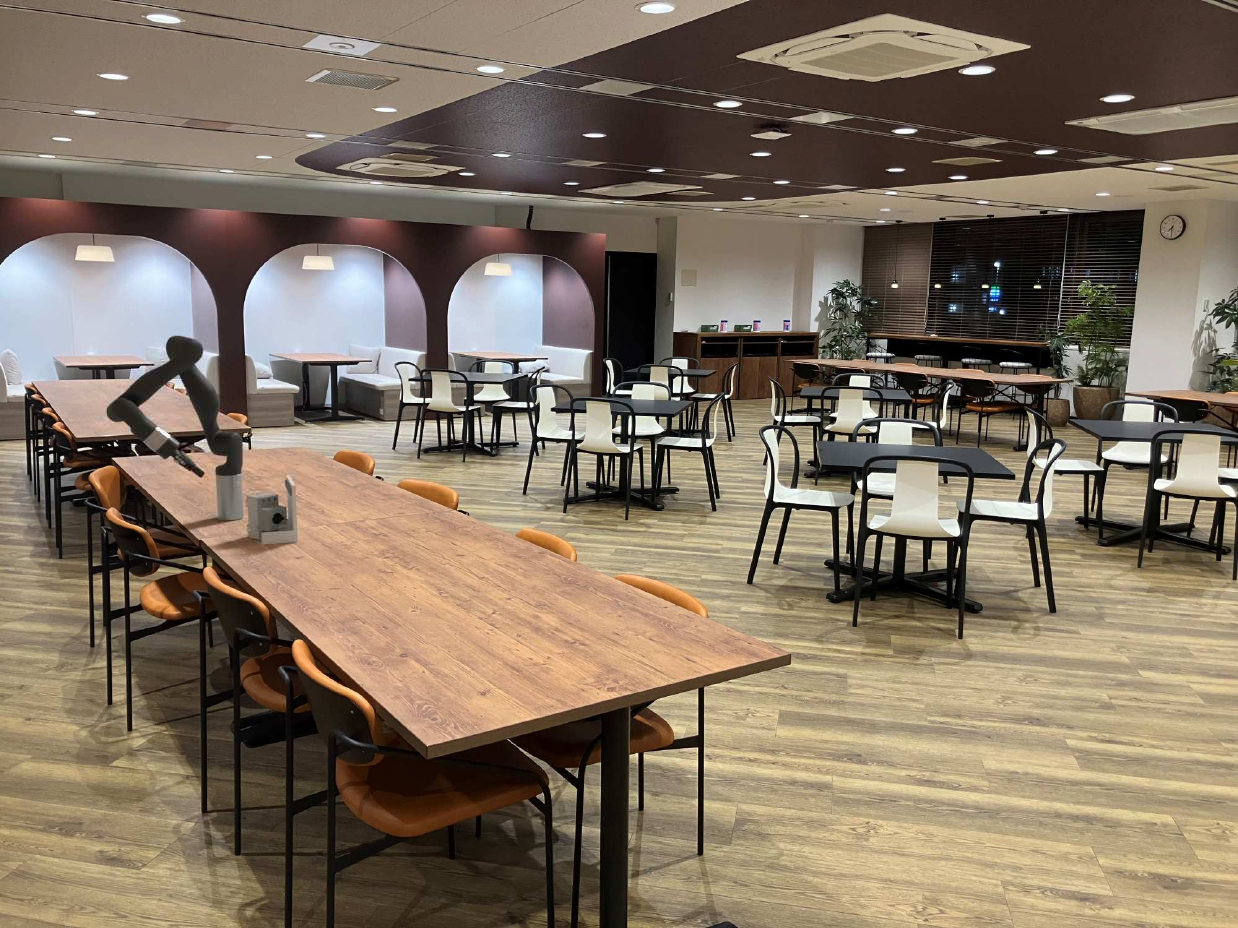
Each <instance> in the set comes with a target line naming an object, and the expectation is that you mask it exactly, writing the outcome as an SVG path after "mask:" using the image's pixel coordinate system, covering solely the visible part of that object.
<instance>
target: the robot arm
mask: <svg viewBox="0 0 1238 928" xmlns="http://www.w3.org/2000/svg"><path fill="white" fill-rule="evenodd" d="M165 352H166V355H167V357H168V359H169V360H168V361H167V362H165V363H163V364H162V365H159V366H157V367H155V368H152V369H150V370H149V371H147V372H145V373H143V375H142V374H141V375H140V377H139V378H137V379H136V380H135V381H134V382H132V383H131V385H130V386H129V387H128V388H126V390H125V391H124V392H123V393H122V394H121V395H119V396H118V397H117V398H116V399H114V400H113V401H112V402H111V403H109V405H108V406H107V408H106V416H107V417H108V419H109V420H110V421H112V422H114V423H122V422H123V423H125V425H127V426H128V427H129V428H130V432H131V433H132V434H133V435H134V436H135V437H136V438H137V439H139V440H140V441H141V442H142V443H144V444H145V445H146V446H147V447H148V448H149V449H150V450H151V451H153V452H154V453H155V454H156V455H158V456H159V457H160V458H161V459H163V460H167V459H169V457H172V458H173V461H174V463H176V464H178V465H179V466H181V467H182V468H184V469H185V470H187V472H192V473H193V474H195V476H197V477H198V478H200V479H201V478H203V477H204V475H206V474H205V471H204V470H202V469H201V468H199V466H198V465H197V464H196V462H194V461H193V460H192V458H191V457H189V456H188V455H187V454H186V452H184V451H183V450H181V451H180V450H179V449H178V448H179V447H180V445H181V442H179V441H178V440H177V439H176V438H175V437H173V436H172V435H171V434H169V433H168V432H167V431H166V430H164V429H163V428H161V427H160V426H158V425H157V424H156V423H155V422H153V421H152V420H150V419H149V418H148V417H147V416H146V414H144V412H143V411H142V410H141V409H140V408H139V407H140V406H141V405H143V404H144V403H146V402H147V401H148V400H149V399H151V398H152V397H153V396H154V395H155V394H156V393H157V392H158V391H159V390H160V389H162V387H164V386H165V385H166V384H167V383H169V382H170V381H172V380H173V379H174V378H176V377H178V376H179V378H180V380H181V382H182V384H183V387H184V388H185V391H186V393H187V395H188V398H189V401H190V402H191V404H192V406H193V407H192V408H193V409H194V410H195V413H196V415H197V418H198V420H199V422H200V424H201V425H200V426H201V428H202V430H203V433H204V436H205V439H206V442H207V445H208V447H209V450H210V452H211V453H212V454H213V455H215V456H219V457H226V460H225V463H223V464H219V465H217V466H216V467H215V470H214V471H215V486H216V487H215V489H216V490H215V491H216V508H217V509H216V510H217V519H218V520H219V521H236V520H241V519H243V518H244V517H245V516H244V515H245V513H244V494H243V493H244V492H243V477H242V476H243V475H242V471H243V470H242V468H243V464H244V463H243V462H244V459H243V458H244V455H243V454H244V442H243V438H242V436H241V434H240V433H238V432H234V431H222V430H221V428H220V427H219V424H218V420H217V419H218V416H219V412H220V409H221V401H220V398H219V396H218V394H217V393H218V392H217V391H216V389H215V387H214V386H213V383H211V381H210V380H209V379H208V378H207V377H206V376H205V375H204V374H203V373H202V371H201V370H200V369H199V368H198V367H197V363H198V362H199V361H201V359H202V357H203V354H204V346H203V345H202V343H201V342H200V341H199V340H197V339H194V338H191V337H187V336H183V335H172V336H170V337H169V338H168V339H167V341H166V343H165Z"/></svg>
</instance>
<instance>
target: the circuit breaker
mask: <svg viewBox="0 0 1238 928" xmlns="http://www.w3.org/2000/svg"><path fill="white" fill-rule="evenodd" d="M245 497H246V499H245V507H246V508H247V516H248V517H247V522H248V523H247V524H246V529H247V532H246V533H248V535H247V537H248V538H250V539H251V538H252V539H256V540H261V541H262V534H261V533H263V532H276V531H279V529H283V528H287V519H288V508H287V506H283V505H280V503H279V494H275V493H271V492H265V491H262V492H257V493H250V494H246V496H245Z"/></svg>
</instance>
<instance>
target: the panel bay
mask: <svg viewBox="0 0 1238 928" xmlns="http://www.w3.org/2000/svg"><path fill="white" fill-rule="evenodd" d="M285 478H286V479H284V487H285V489H286V499H287V500H286V501H287V502H286V503H287V504H286V505H287V506H286V508H287V528H283V529H279V531H276V532H263V533H261V534H262V540H261V545H273V544H275V545H276V544H284V543H285V544H286V543H298V542H299V541H298V539H299V538H298V516H297V515H298V514H297V513H298V511H297V510H298V509H297V493H296V492H297V490H296V483H295V482H294V480H293V478H292V477H291V476H290V475H285Z"/></svg>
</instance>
